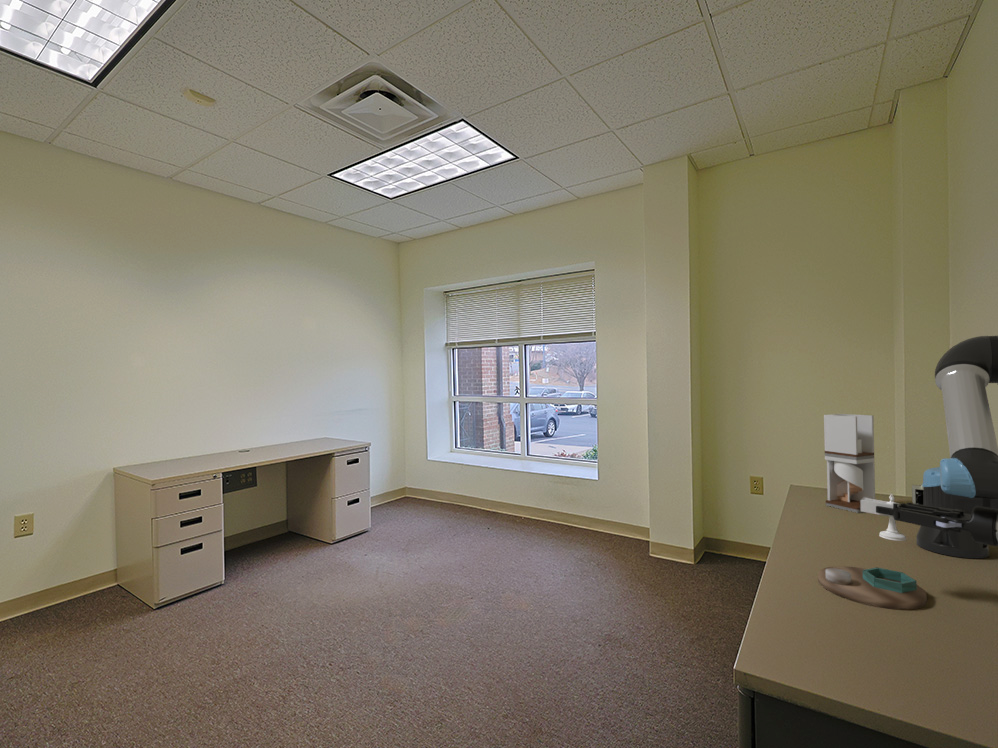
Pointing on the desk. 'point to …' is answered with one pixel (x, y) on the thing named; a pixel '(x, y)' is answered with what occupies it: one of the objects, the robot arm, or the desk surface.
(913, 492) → the pneumatic valve
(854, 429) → the spiral staircase model
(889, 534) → the chess piece
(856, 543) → the desk surface
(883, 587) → the carrier
